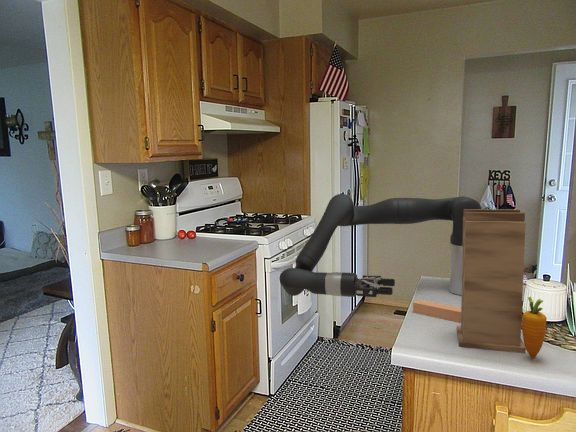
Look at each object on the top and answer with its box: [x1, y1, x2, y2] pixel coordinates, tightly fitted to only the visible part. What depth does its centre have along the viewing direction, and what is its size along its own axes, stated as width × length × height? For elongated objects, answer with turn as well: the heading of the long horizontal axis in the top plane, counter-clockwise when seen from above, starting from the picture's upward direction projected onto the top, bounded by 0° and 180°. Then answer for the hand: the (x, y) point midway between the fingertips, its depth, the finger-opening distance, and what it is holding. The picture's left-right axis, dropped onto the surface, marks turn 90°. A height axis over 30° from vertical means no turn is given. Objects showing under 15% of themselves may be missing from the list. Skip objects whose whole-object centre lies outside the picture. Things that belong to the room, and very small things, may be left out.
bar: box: [412, 299, 461, 324], centre depth 127 cm, size 4×22×4 cm, turn 50°
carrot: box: [521, 296, 547, 359], centre depth 100 cm, size 5×5×15 cm
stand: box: [456, 208, 527, 354], centre depth 109 cm, size 11×15×34 cm
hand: (393, 286), depth 131 cm, fingers open, 8 cm apart
